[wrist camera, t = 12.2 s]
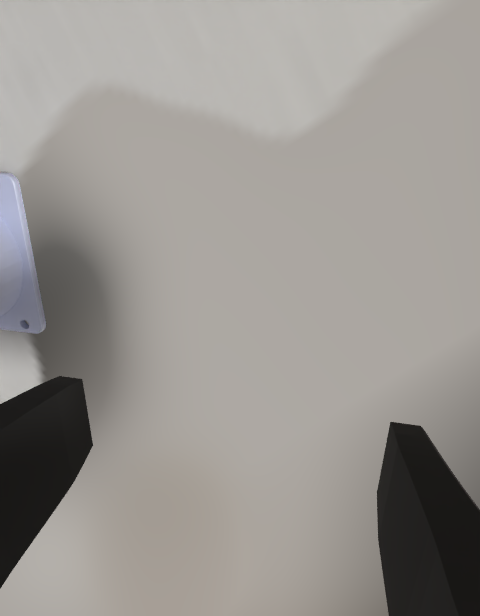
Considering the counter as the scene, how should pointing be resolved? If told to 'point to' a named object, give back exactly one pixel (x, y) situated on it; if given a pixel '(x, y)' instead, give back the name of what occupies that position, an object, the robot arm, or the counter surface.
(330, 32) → the counter surface
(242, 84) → the counter surface
